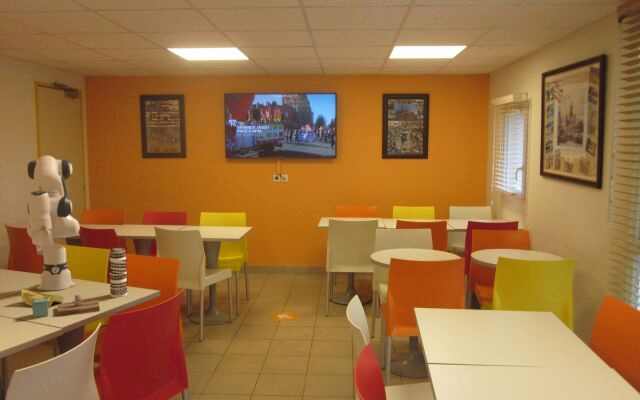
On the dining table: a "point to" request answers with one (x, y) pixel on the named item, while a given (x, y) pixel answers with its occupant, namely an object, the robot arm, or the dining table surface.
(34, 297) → the plastic component
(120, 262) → the brown white cylinder
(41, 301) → the housing cap
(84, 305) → the stub plate
